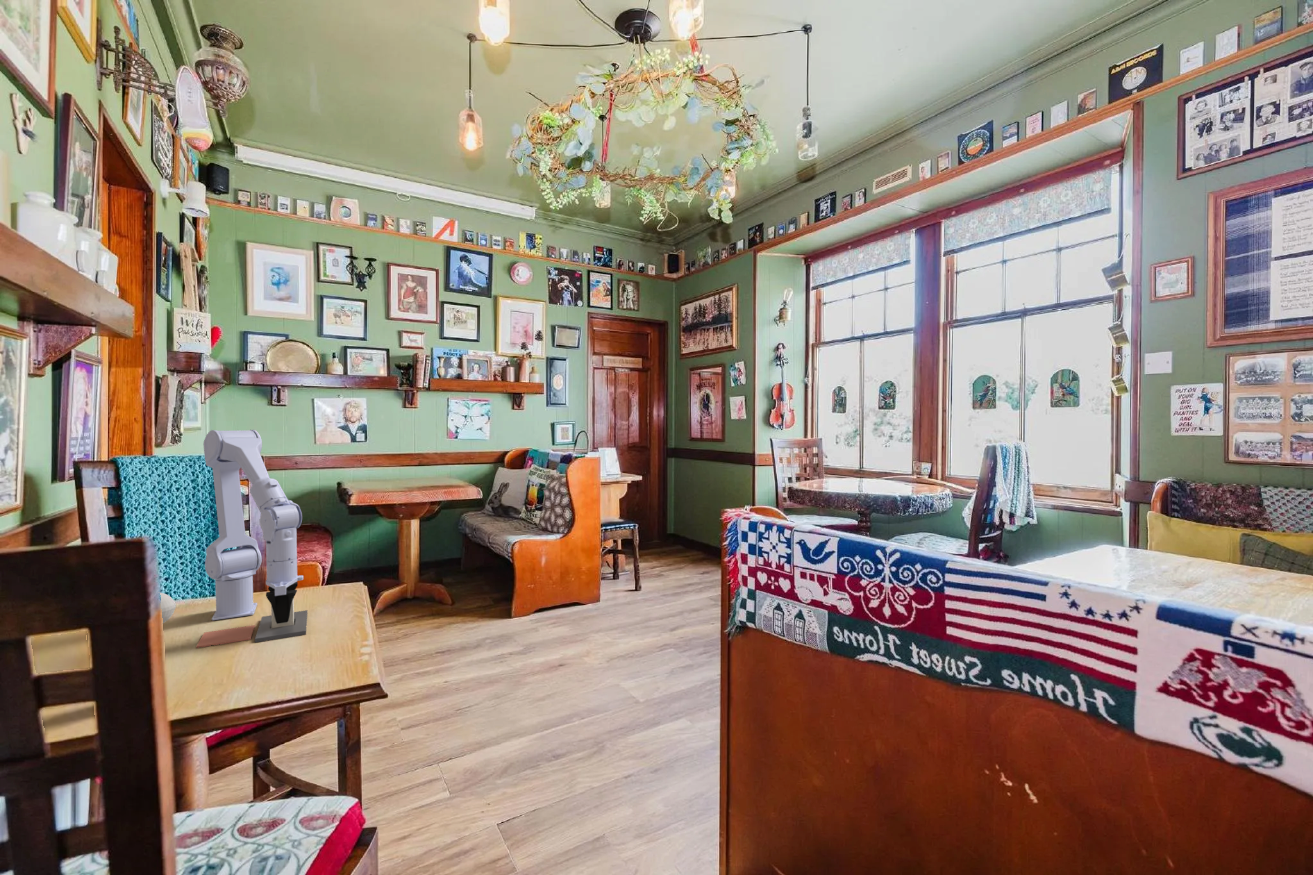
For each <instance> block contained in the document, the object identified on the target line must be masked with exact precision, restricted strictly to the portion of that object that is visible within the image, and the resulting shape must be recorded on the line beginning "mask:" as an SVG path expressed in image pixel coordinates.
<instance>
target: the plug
mask: <svg viewBox="0 0 1313 875" xmlns="http://www.w3.org/2000/svg"><path fill="white" fill-rule="evenodd" d="M294 600H295V597H294V598H293V601H292V604H291V609H290V616H289V620H288V622H285V623H278V624H277V623H276V620H275V616H274V612H273V608H272V606H271V605H270V606H271V607H270V608H271V612H270V613H271V617H272V626H271V628H276V627H283V626H289V625H295V622H294V612H295V606H294V604H295V603H294V602H295V601H294Z"/></svg>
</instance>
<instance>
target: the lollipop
mask: <svg viewBox="0 0 1313 875" xmlns="http://www.w3.org/2000/svg"><path fill="white" fill-rule="evenodd" d="M159 593H160V595H161V609H162V618H163V623H162V624H164V623H166V622H167V621H169V620H170V619H171V617H172V616H173V615H174V612H175V610H176V608H177V604H176V602H175V600H174V599H173V598H172V597H171V596H170V595H169V594H166V593H163V592H159Z"/></svg>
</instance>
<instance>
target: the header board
mask: <svg viewBox="0 0 1313 875" xmlns="http://www.w3.org/2000/svg"><path fill="white" fill-rule="evenodd" d="M307 623H308V610H307V609H306V610H299V611H294V625H289V626H283V627H276V628H272V617H271V615H265V616H261V618H260V622H259V625H258V629H257V631H256V635H255V638H254V643H261V642H267V641H266V640H268V641H273V640H280V639H287V638H291V637H298V636H305V635H307V627H306V626H308V624H307Z"/></svg>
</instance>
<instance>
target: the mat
mask: <svg viewBox="0 0 1313 875" xmlns="http://www.w3.org/2000/svg"><path fill="white" fill-rule="evenodd" d="M255 628H256V625H255V624H253V625H252V624H251V625H246V626H238V627H233V628H232V627H231V628H226V629H219V630H218V629H217V630H212V631H206V632H203V634H202V636H201V638H200V639H199V641H198V643H197V644H196V647H195V648H196V649H199V647H201V648H206V647H212V646H211V645H214V646H219V644H220V645H225V644H231V643H238V642H244V641H251V639H252V637H253V633H254V631H255Z"/></svg>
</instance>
